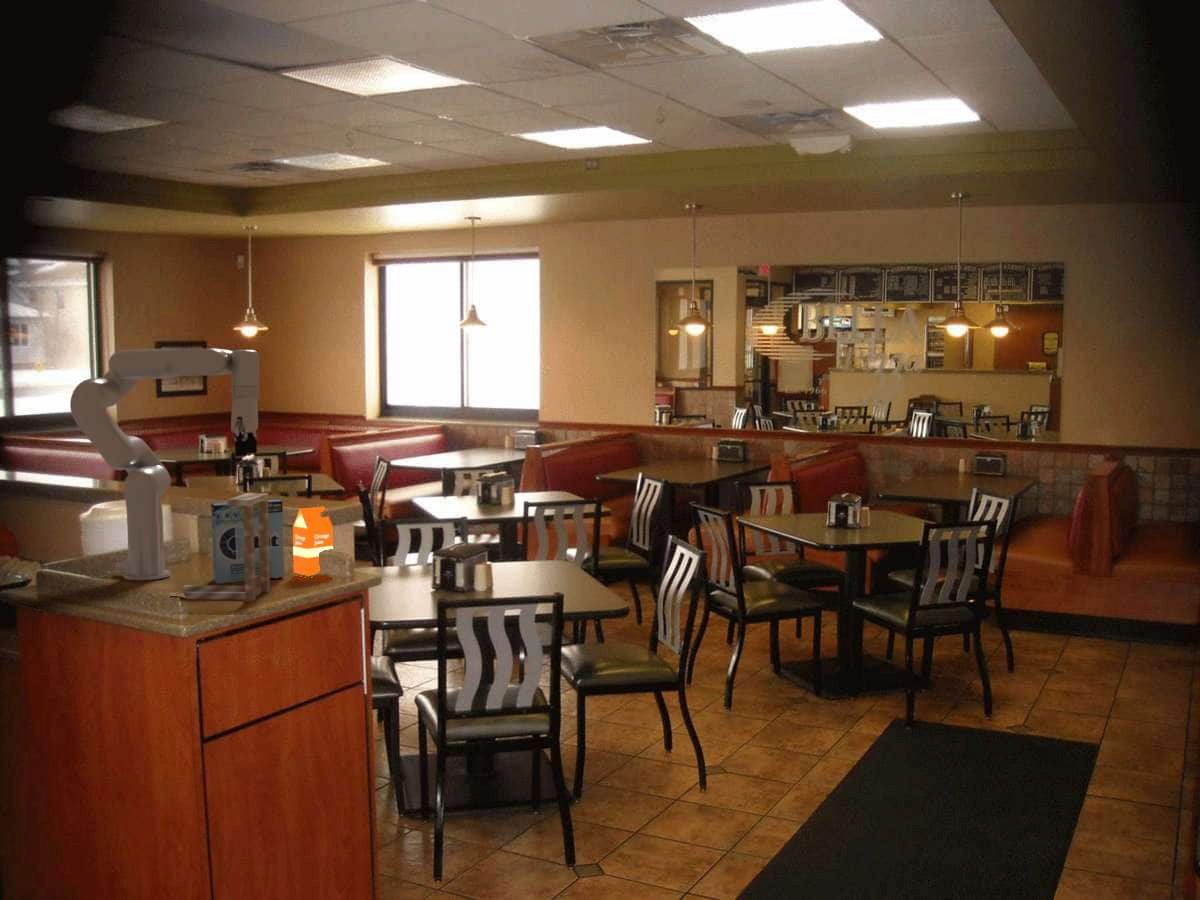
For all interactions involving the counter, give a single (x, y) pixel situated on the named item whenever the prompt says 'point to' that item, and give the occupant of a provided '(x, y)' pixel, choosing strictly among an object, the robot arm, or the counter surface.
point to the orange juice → (310, 540)
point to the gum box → (232, 541)
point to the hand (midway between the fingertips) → (246, 453)
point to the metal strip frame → (252, 582)
